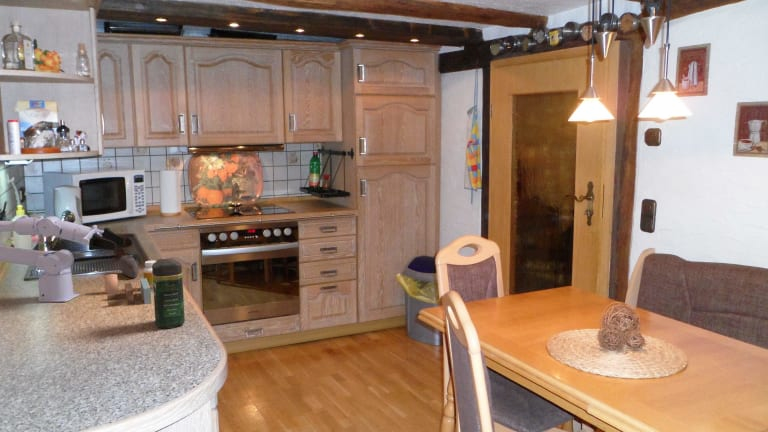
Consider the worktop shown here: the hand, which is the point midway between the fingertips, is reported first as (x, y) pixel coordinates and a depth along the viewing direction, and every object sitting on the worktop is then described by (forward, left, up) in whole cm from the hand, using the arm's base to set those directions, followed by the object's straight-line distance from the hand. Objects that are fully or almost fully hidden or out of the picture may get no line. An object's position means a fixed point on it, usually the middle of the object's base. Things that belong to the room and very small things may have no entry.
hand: (119, 244), depth 199 cm
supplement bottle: (+5, +11, -18) cm, 22 cm away
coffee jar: (+27, -26, -18) cm, 41 cm away
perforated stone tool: (-12, +29, -18) cm, 36 cm away
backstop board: (+8, -1, -18) cm, 20 cm away
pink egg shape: (-7, +6, -18) cm, 20 cm away
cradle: (+1, -5, -18) cm, 19 cm away
